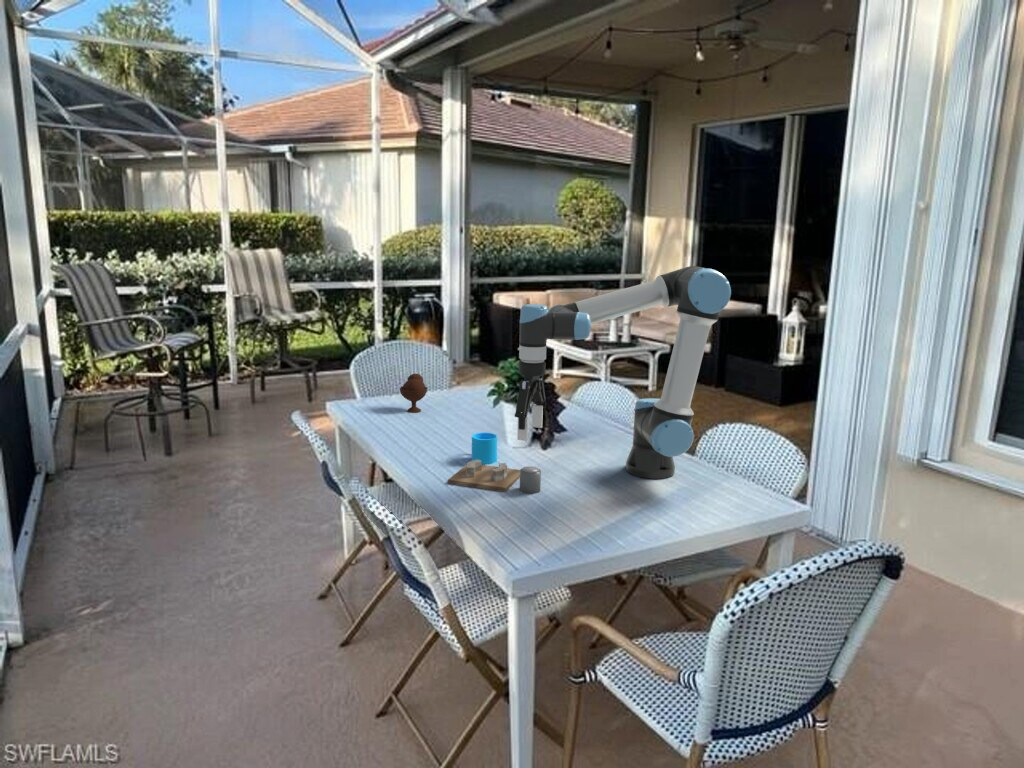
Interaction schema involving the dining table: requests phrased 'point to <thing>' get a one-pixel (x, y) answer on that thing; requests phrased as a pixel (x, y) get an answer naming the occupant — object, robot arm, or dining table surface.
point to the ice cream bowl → (414, 391)
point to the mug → (484, 447)
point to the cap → (530, 480)
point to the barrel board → (485, 476)
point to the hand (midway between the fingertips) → (530, 433)
